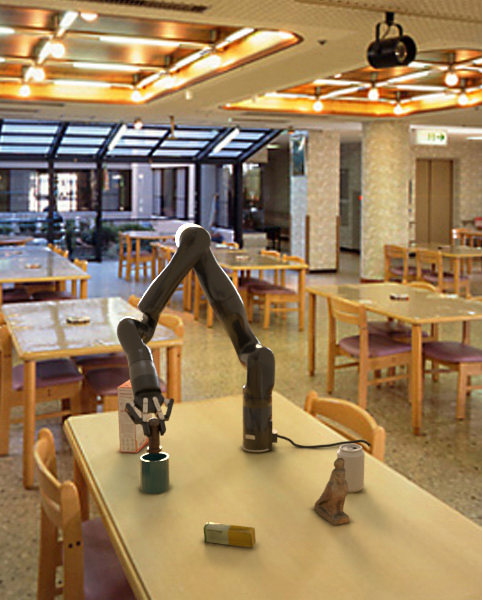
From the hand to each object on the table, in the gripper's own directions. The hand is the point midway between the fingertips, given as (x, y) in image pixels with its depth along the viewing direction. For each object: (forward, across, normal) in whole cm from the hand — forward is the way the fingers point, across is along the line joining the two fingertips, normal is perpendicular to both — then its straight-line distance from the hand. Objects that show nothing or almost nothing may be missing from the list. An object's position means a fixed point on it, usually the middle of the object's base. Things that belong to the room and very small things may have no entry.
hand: (155, 434), depth 211 cm
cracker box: (-16, +3, +39) cm, 42 cm away
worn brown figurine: (+35, +36, -12) cm, 52 cm away
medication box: (+38, +8, -16) cm, 42 cm away
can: (+25, +48, -3) cm, 55 cm away
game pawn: (+2, 0, +5) cm, 6 cm away
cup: (+10, 0, +12) cm, 16 cm away
